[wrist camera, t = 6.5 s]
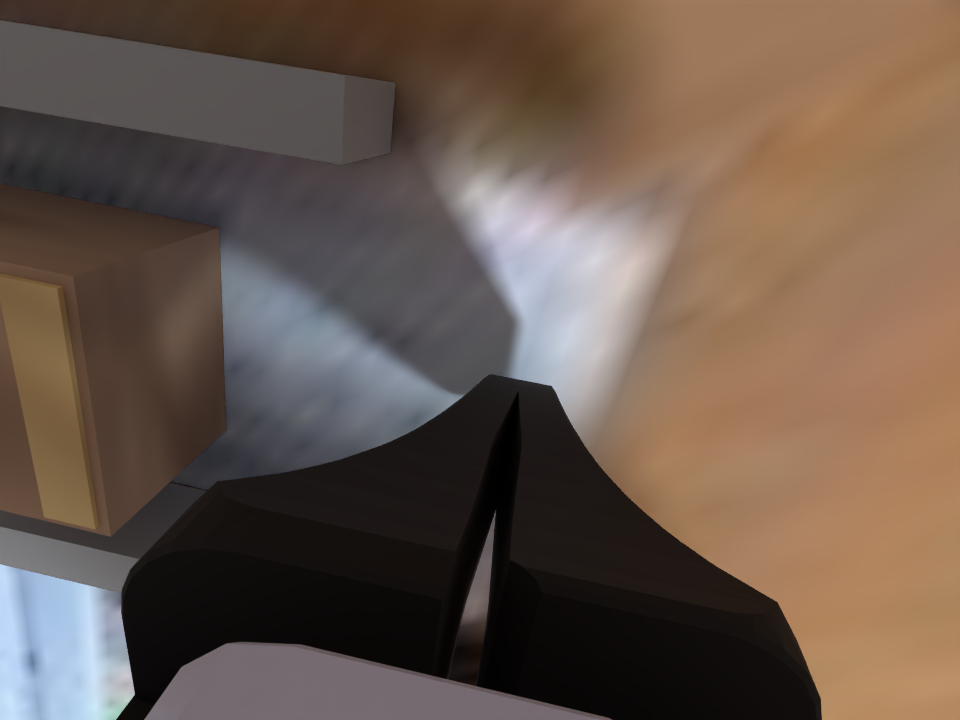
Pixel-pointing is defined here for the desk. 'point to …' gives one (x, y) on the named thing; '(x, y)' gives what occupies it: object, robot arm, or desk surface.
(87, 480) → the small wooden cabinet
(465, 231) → the desk surface
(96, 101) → the bay
